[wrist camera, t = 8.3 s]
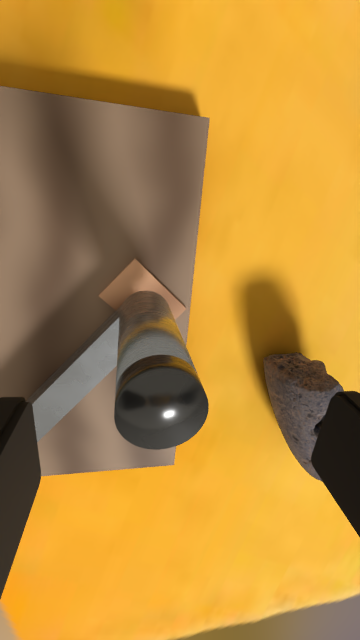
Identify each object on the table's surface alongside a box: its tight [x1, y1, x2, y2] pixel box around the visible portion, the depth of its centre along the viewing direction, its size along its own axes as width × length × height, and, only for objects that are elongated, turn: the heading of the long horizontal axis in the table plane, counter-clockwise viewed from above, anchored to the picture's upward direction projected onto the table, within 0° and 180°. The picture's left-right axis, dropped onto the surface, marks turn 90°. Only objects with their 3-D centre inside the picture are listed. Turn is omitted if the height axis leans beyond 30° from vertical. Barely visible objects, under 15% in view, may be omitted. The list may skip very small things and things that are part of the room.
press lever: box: [26, 291, 208, 450], centre depth 16 cm, size 4×22×11 cm, turn 133°
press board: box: [0, 86, 209, 476], centre depth 21 cm, size 19×28×2 cm
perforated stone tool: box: [263, 352, 344, 481], centre depth 26 cm, size 15×5×7 cm, turn 18°
